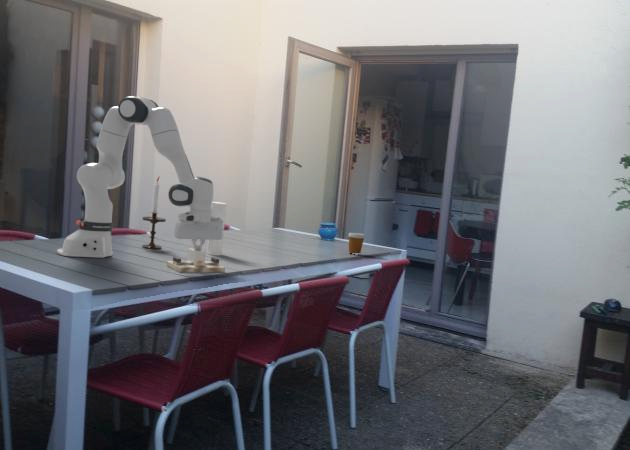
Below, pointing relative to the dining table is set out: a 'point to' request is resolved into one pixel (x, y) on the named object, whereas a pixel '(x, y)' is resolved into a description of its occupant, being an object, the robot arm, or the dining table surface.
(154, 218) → the candlestick
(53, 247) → the dining table surface
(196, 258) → the module
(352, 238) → the glass of beer
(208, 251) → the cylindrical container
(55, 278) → the dining table surface
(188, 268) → the board
